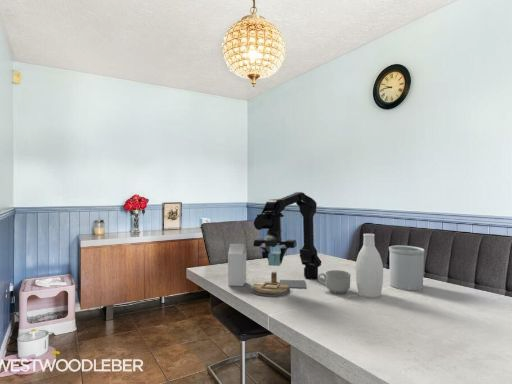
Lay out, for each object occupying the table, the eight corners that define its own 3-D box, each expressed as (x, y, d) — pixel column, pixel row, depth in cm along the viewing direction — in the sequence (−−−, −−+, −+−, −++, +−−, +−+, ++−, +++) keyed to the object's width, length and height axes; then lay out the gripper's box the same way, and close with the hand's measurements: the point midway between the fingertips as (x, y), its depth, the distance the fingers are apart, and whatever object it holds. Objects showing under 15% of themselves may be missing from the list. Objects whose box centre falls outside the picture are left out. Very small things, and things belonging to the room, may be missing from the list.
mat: (304, 281, 157) (304, 280, 157) (306, 288, 146) (306, 287, 146) (279, 280, 158) (279, 279, 158) (279, 287, 147) (279, 287, 147)
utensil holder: (429, 285, 148) (428, 247, 148) (418, 293, 137) (418, 252, 137) (396, 280, 158) (395, 244, 158) (384, 286, 147) (383, 248, 147)
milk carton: (242, 286, 149) (242, 245, 149) (228, 285, 150) (227, 245, 150) (246, 282, 156) (246, 243, 156) (232, 281, 157) (231, 242, 157)
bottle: (363, 288, 144) (362, 231, 144) (388, 294, 136) (387, 234, 136) (350, 294, 136) (350, 234, 136) (376, 300, 128) (375, 236, 128)
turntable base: (289, 285, 151) (289, 283, 151) (290, 296, 134) (290, 295, 134) (253, 284, 152) (253, 283, 152) (249, 296, 135) (249, 294, 135)
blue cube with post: (271, 262, 148) (270, 251, 148) (281, 263, 147) (281, 251, 147) (266, 266, 141) (266, 255, 140) (278, 267, 139) (277, 255, 139)
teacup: (352, 289, 143) (352, 271, 144) (348, 296, 134) (348, 277, 134) (321, 285, 149) (321, 268, 149) (315, 292, 140) (315, 274, 140)
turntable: (258, 282, 153) (258, 271, 153) (291, 284, 148) (291, 273, 148) (247, 292, 138) (247, 279, 138) (284, 295, 133) (284, 282, 133)
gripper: (248, 229, 140) (249, 265, 141) (290, 230, 134) (291, 267, 134) (257, 226, 151) (258, 259, 151) (296, 227, 144) (297, 261, 145)
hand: (275, 262), depth 145 cm, fingers closed on blue cube with post, 5 cm apart
